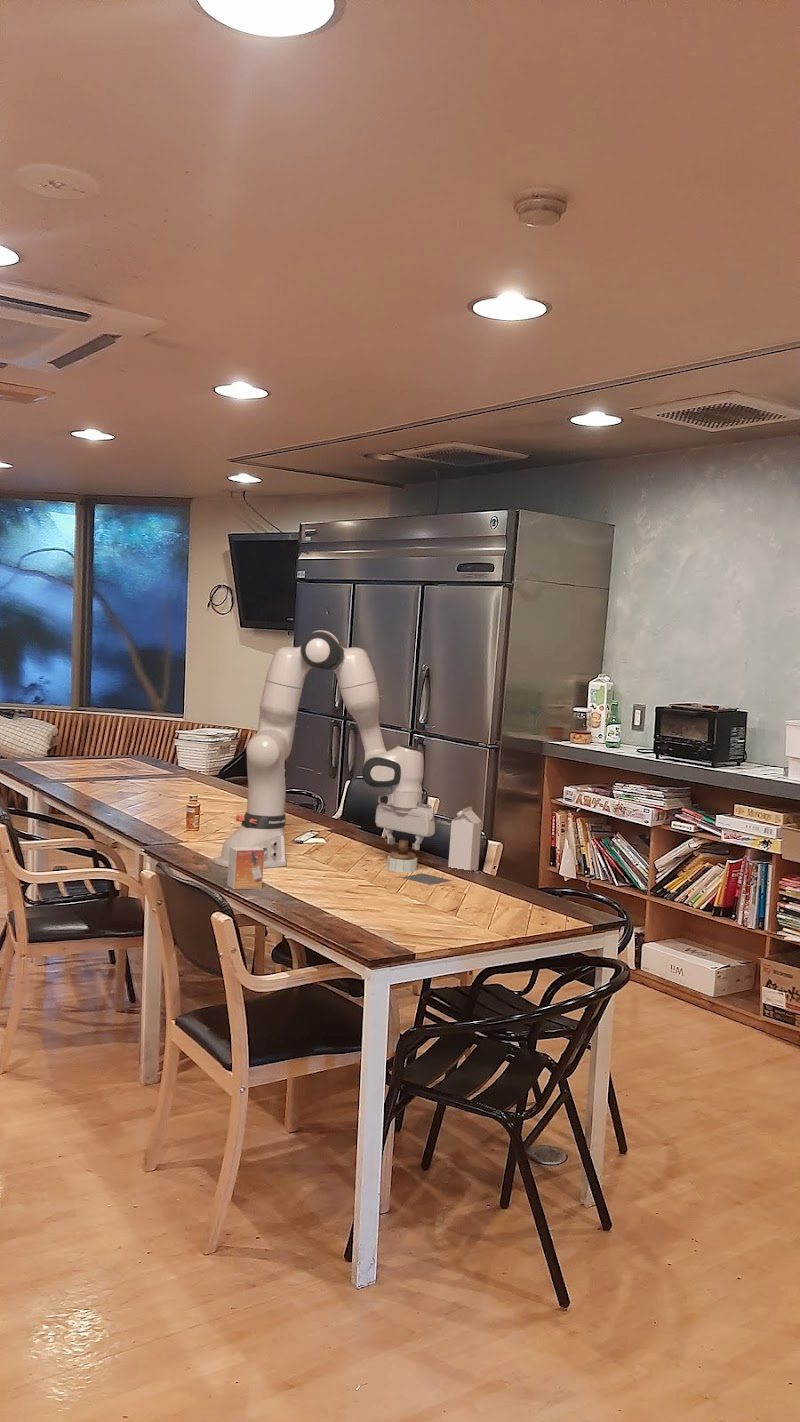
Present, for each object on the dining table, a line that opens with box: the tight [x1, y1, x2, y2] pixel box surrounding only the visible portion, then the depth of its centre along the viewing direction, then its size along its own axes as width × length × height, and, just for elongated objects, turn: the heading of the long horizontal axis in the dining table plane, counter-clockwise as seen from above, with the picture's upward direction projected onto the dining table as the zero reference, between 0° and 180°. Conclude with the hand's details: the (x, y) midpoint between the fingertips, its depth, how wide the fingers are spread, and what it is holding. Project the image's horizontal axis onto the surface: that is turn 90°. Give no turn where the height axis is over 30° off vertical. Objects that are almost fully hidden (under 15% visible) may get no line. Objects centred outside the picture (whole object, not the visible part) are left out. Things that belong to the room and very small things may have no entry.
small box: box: [226, 846, 264, 890], centre depth 288 cm, size 8×6×10 cm
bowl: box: [386, 854, 418, 874], centre depth 323 cm, size 9×9×4 cm
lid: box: [389, 839, 417, 860], centre depth 322 cm, size 8×8×5 cm
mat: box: [400, 872, 453, 886], centre depth 312 cm, size 10×11×1 cm
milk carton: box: [447, 806, 483, 872], centre depth 329 cm, size 7×7×19 cm
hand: (403, 846), depth 322 cm, fingers open, 8 cm apart
